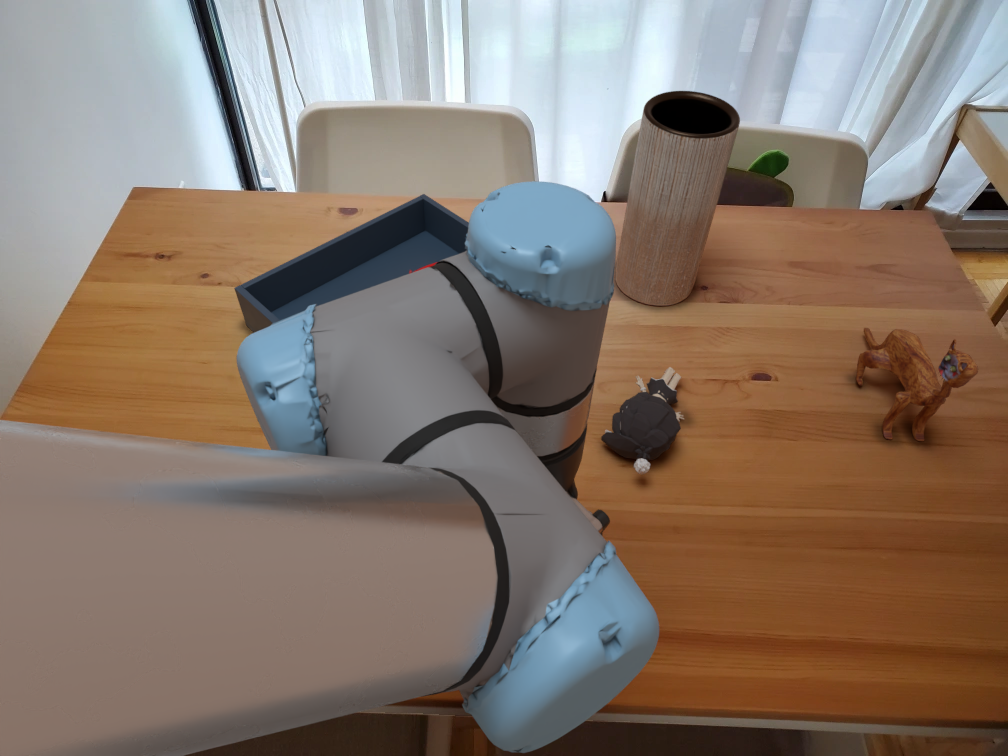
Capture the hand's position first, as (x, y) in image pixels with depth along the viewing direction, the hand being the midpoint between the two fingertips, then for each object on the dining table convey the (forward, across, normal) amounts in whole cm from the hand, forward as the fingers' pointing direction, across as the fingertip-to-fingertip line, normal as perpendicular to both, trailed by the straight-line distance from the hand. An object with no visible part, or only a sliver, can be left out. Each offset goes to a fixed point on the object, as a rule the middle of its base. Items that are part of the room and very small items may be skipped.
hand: (517, 580), depth 63 cm
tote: (0, +33, -14) cm, 36 cm away
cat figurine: (+1, -12, -46) cm, 47 cm away
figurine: (+1, +3, -22) cm, 22 cm away
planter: (+1, +17, -42) cm, 45 cm away
